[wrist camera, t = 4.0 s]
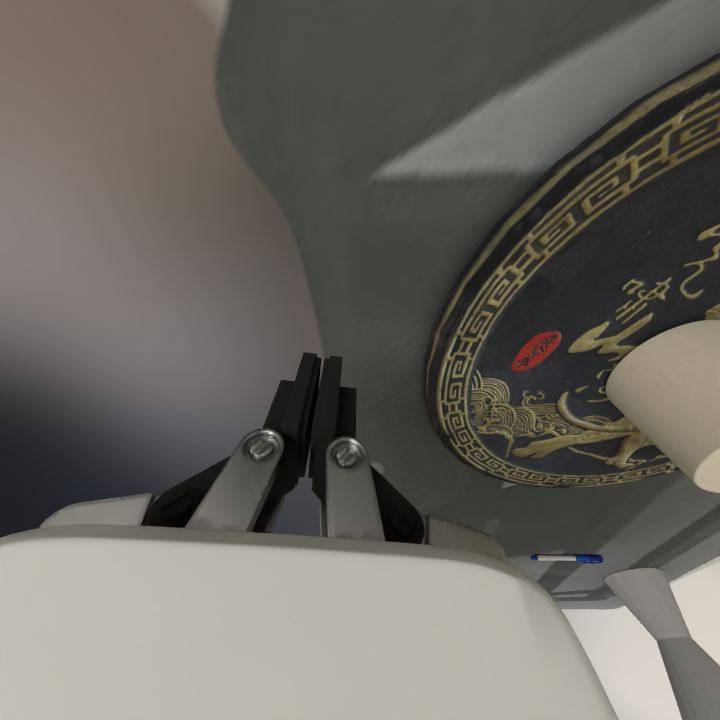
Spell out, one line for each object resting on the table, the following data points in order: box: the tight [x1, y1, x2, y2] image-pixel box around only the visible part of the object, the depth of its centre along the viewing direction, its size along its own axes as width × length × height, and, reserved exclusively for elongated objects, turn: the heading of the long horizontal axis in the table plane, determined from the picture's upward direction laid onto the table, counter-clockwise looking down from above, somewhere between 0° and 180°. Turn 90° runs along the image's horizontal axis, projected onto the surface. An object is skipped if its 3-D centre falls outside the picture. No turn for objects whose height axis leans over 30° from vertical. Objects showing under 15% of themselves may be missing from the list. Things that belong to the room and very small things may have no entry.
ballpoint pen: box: [531, 555, 603, 563], centre depth 40 cm, size 10×1×1 cm, turn 92°
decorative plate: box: [423, 53, 720, 488], centre depth 17 cm, size 30×2×30 cm
